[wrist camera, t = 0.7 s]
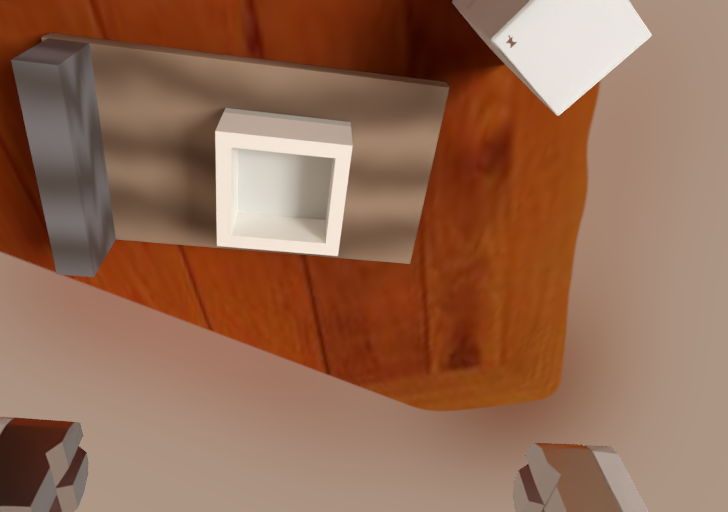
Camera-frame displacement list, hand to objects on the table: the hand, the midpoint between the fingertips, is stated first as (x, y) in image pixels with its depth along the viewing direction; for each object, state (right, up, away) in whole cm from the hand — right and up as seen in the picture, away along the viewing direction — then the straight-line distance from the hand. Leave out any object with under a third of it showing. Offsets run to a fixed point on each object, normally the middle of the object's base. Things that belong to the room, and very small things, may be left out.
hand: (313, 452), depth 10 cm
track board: (-9, +12, +40) cm, 43 cm away
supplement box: (+13, +24, +34) cm, 43 cm away
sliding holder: (-6, +11, +39) cm, 41 cm away
